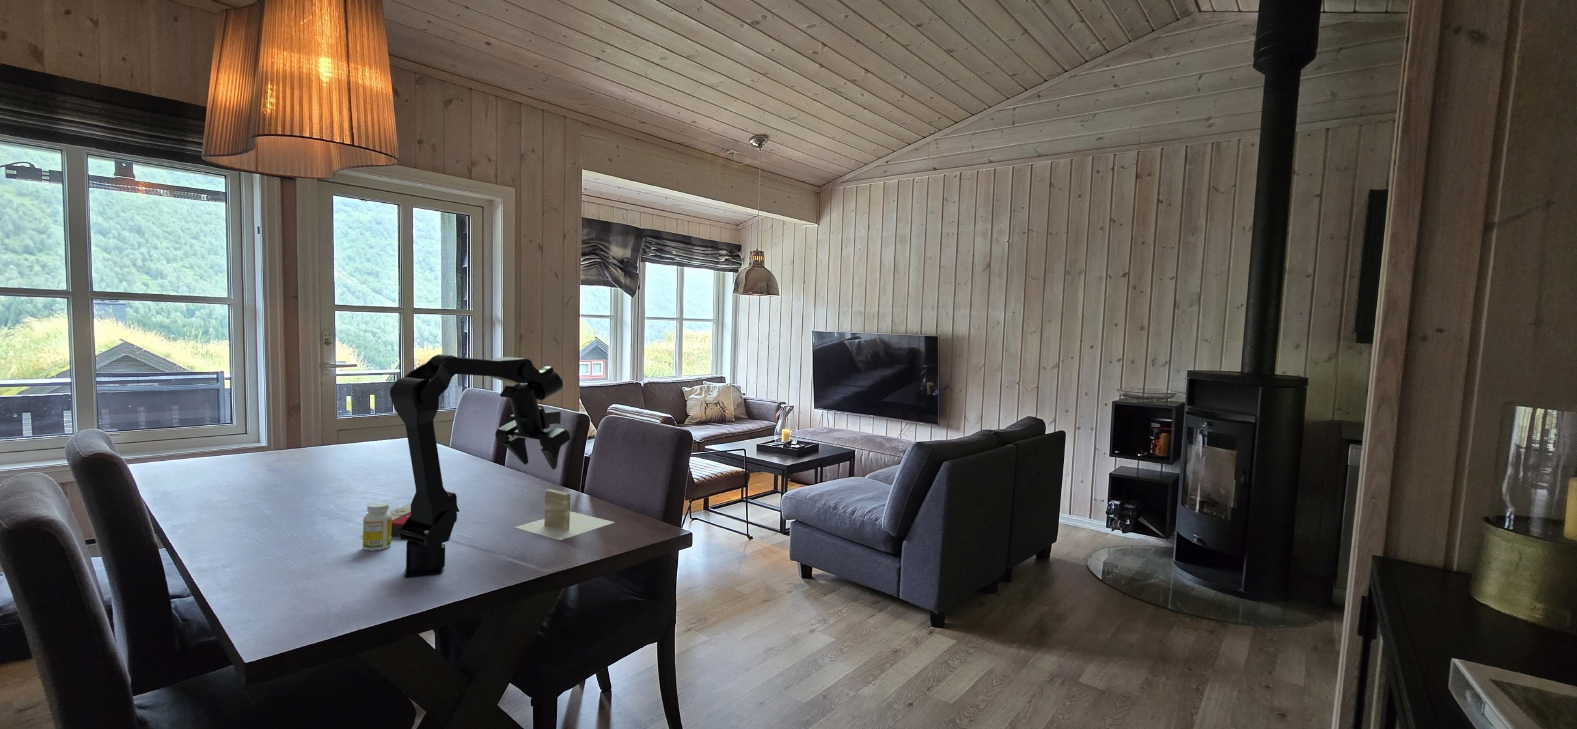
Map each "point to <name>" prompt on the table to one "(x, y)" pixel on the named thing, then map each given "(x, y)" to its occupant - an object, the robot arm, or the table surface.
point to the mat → (576, 526)
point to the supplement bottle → (377, 527)
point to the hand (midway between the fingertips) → (540, 466)
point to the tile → (557, 509)
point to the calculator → (399, 518)
